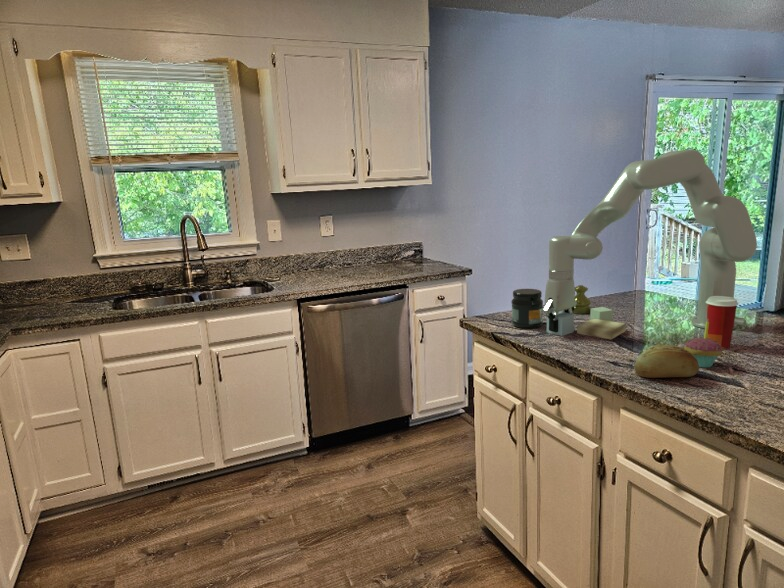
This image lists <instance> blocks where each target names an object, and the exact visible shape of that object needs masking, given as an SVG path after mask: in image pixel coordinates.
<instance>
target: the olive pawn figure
mask: <svg viewBox="0 0 784 588" xmlns="http://www.w3.org/2000/svg"><path fill="white" fill-rule="evenodd" d="M588 290H589V288H588V287H586V286H584V285H582V284H579V285H577V286H575V293H576V294H575V300H576V302H577V304H576V306H575V308H574V310H573V314H577V315H584V314H585V315H586V314H587V315H588V314H590V312H591V307H592V305H591V304H592V300H591V299H590V298H588V296H586V294H585V293H586V292H587V291H588Z"/></svg>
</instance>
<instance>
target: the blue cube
mask: <svg viewBox="0 0 784 588" xmlns="http://www.w3.org/2000/svg"><path fill="white" fill-rule="evenodd" d="M552 314H553V315H554V314H555V312H553V313H552ZM557 320H558V332H553V331H549V319H548V317H547V316H546V333H547V334H548V333H549V334H552V335H557V336H560V337H563V336H567V335H569V334H573V333H574V331H575V326H574V325H575V313H573V314H570V313H565V312H563V311H559V313H558V317H557Z"/></svg>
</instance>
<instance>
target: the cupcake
mask: <svg viewBox="0 0 784 588" xmlns="http://www.w3.org/2000/svg"><path fill="white" fill-rule="evenodd" d="M708 326H709V322H708V320H707V322H706V327H705V328H704V336H703V337H698V336H697V337H694V338H690V339H689V340H688V341H686V342H685V344H684V348H683V349H685V350H687V351H689V352H690V353H691V354H692V355H693V356H694V357H695V358H696V359H697V361H698V364H699V368H712V366H713V365H714V363H715V361H716V359H717V358H718V356H721V355H722V354H723V349H722V347H721V345H720V344H719V343H718V342H716V341H715V340H711V339H708V338H707V334H708Z"/></svg>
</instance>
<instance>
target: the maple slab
mask: <svg viewBox="0 0 784 588" xmlns="http://www.w3.org/2000/svg"><path fill="white" fill-rule="evenodd" d="M626 324H627V323H625V322H624V323H623V322H620V321H619V322H618V321H613V320H612V321H606V320H600V319H593V318H592V319H590V318H589V320H585V322H582V323H580V324H578V325H577V326H576V334H578V335H583V336H588V337H594V338H599V339H605V340H613V339H615V338H616V337H618V336H620V335H621V334H623V333H625V332H626V327H627V325H626Z"/></svg>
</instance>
